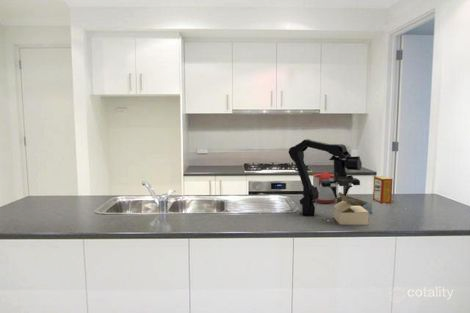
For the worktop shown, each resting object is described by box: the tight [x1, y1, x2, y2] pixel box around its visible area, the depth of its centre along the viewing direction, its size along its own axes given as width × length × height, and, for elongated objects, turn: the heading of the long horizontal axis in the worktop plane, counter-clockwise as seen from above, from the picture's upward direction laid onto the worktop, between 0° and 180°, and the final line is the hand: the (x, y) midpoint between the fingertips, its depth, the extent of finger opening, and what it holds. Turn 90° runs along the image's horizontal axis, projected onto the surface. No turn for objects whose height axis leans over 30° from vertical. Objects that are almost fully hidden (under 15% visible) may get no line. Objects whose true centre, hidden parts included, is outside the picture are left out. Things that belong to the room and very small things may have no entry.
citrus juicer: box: [312, 170, 338, 204], centre depth 196 cm, size 16×17×20 cm
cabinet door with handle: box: [333, 191, 352, 213], centre depth 158 cm, size 7×11×6 cm
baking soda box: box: [372, 175, 393, 205], centre depth 196 cm, size 10×6×16 cm
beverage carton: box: [336, 195, 373, 214], centre depth 179 cm, size 8×19×7 cm, turn 28°
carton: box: [333, 206, 370, 226], centre depth 159 cm, size 14×11×7 cm
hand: (340, 198), depth 158 cm, fingers open, 4 cm apart
